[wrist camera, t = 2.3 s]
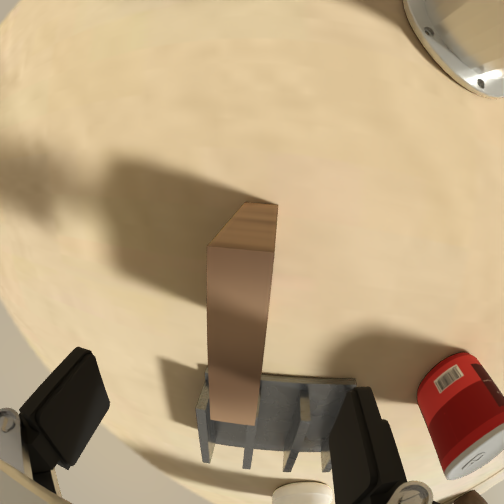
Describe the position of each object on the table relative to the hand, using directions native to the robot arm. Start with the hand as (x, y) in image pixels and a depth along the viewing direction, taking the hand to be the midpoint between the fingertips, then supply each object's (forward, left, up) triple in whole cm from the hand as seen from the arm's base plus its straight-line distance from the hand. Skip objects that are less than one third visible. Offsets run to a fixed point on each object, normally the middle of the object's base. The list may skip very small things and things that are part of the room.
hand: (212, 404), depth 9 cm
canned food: (+10, +21, -12) cm, 27 cm away
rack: (+15, +3, -12) cm, 20 cm away
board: (-1, 0, -12) cm, 12 cm away
